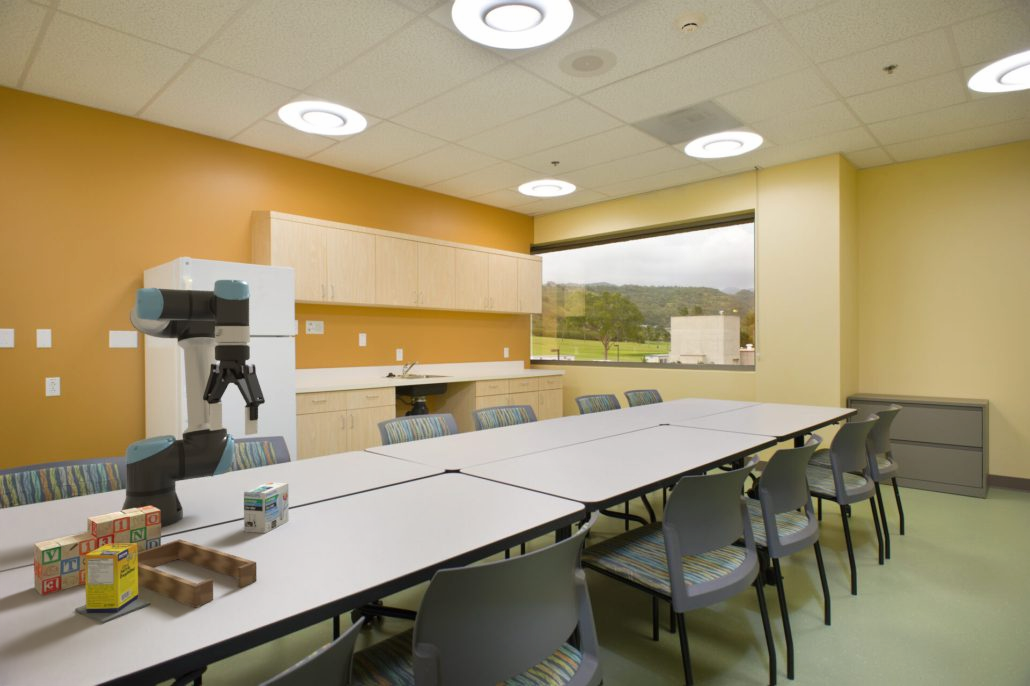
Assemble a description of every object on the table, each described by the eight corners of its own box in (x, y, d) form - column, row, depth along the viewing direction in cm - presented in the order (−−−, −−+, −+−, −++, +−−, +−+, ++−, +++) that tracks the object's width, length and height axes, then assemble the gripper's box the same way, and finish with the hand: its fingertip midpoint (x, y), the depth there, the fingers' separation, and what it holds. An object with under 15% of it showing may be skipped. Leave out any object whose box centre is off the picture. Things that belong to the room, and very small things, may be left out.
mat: (75, 610, 104) (75, 608, 104) (122, 593, 111) (122, 591, 111) (102, 623, 99) (102, 621, 99) (149, 604, 106) (149, 602, 106)
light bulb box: (265, 534, 144) (264, 493, 144) (242, 532, 146) (242, 491, 145) (289, 520, 155) (289, 482, 155) (268, 519, 156) (268, 481, 156)
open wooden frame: (118, 577, 118) (117, 558, 118) (179, 556, 130) (179, 539, 130) (195, 607, 105) (195, 586, 105) (256, 581, 116) (256, 562, 116)
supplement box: (139, 597, 108) (138, 542, 108) (117, 612, 102) (116, 554, 102) (108, 598, 108) (107, 542, 108) (85, 613, 102) (84, 554, 102)
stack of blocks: (41, 596, 110) (40, 535, 110) (33, 587, 114) (33, 528, 114) (161, 562, 126) (161, 509, 126) (151, 555, 130) (151, 504, 130)
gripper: (186, 344, 135) (187, 430, 136) (251, 344, 123) (252, 438, 124) (215, 344, 142) (216, 425, 142) (280, 344, 130) (281, 433, 130)
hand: (233, 432), depth 133 cm, fingers open, 13 cm apart
